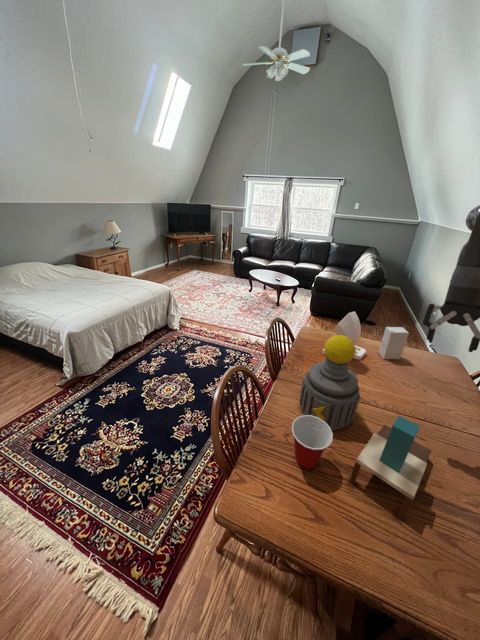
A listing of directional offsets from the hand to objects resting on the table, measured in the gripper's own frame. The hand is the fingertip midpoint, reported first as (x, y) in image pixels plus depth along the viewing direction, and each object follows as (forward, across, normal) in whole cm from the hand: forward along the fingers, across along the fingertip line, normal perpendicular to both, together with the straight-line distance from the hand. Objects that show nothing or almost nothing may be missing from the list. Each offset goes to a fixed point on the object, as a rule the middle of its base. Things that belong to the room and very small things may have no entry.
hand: (449, 346), depth 71 cm
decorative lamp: (+33, -28, 0) cm, 43 cm away
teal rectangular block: (+29, -5, -17) cm, 33 cm away
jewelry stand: (+24, -37, +41) cm, 60 cm away
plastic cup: (+38, -24, -22) cm, 50 cm away
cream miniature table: (+36, -5, -9) cm, 38 cm away
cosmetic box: (+22, -19, +55) cm, 63 cm away
